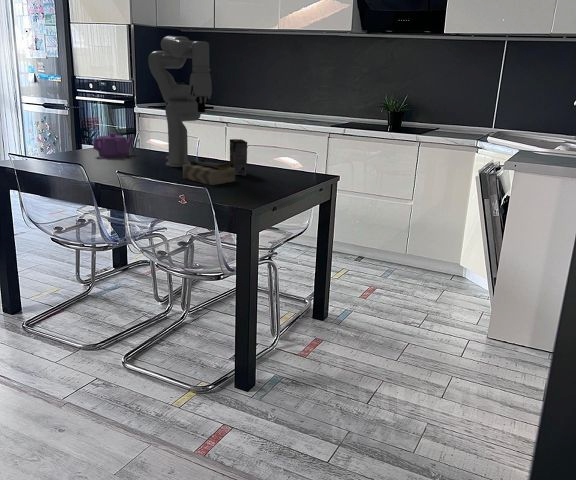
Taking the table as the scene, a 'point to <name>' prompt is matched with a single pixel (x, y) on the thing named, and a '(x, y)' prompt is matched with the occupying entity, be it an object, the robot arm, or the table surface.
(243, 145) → the coffee box
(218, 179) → the block
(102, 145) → the teakettle
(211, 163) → the bar
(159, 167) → the table surface
